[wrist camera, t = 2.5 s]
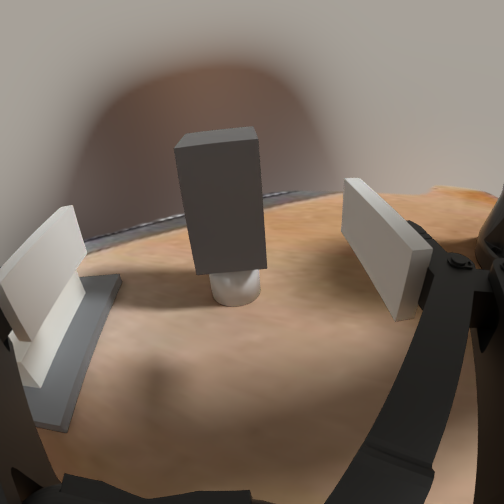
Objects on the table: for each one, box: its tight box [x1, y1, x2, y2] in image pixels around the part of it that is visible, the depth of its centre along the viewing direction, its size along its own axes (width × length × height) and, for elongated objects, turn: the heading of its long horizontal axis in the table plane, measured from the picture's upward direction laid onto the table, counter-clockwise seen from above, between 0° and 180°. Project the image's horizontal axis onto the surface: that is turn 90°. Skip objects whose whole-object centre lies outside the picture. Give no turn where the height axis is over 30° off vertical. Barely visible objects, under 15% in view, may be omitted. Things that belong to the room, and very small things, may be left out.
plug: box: [174, 127, 267, 307], centre depth 26 cm, size 6×6×14 cm
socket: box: [8, 270, 122, 433], centre depth 23 cm, size 18×18×4 cm
